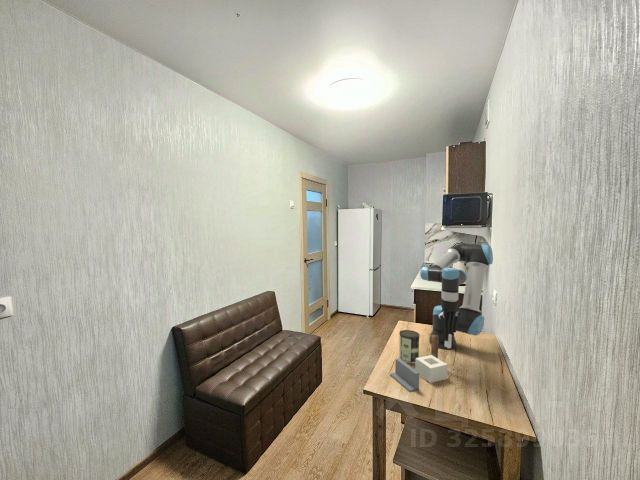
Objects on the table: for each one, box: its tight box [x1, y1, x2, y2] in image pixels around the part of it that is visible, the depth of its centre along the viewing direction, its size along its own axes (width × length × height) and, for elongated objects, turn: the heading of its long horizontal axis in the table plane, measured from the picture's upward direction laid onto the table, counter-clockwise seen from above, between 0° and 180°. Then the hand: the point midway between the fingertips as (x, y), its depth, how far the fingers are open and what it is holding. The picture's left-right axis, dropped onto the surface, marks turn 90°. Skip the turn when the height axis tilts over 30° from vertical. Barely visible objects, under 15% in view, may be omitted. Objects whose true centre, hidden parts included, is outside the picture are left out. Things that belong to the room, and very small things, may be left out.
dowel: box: [430, 335, 439, 359], centre depth 138 cm, size 3×3×16 cm
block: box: [414, 354, 448, 384], centre depth 130 cm, size 10×10×7 cm
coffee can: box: [398, 329, 420, 364], centre depth 146 cm, size 10×10×14 cm
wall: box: [389, 357, 420, 393], centre depth 124 cm, size 5×14×8 cm, turn 21°
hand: (447, 347), depth 133 cm, fingers closed
